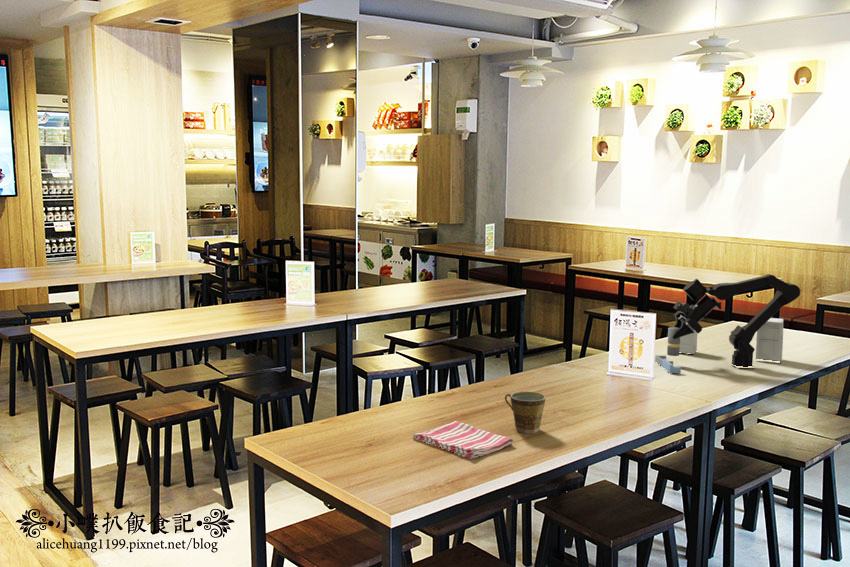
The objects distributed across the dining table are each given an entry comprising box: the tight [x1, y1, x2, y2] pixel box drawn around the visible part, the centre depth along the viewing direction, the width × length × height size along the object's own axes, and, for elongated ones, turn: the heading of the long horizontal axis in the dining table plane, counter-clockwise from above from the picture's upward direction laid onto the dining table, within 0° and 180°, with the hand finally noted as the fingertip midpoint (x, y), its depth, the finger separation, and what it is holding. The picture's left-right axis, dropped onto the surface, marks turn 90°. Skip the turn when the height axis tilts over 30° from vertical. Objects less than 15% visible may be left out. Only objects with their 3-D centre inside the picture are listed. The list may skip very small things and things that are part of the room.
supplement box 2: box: [755, 317, 784, 362], centre depth 305 cm, size 10×9×17 cm
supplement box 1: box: [679, 330, 698, 354], centre depth 319 cm, size 7×7×13 cm
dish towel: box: [412, 420, 514, 460], centre depth 209 cm, size 17×23×4 cm
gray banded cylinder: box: [666, 326, 680, 357], centre depth 296 cm, size 5×5×10 cm
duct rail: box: [654, 354, 682, 374], centre depth 294 cm, size 4×20×4 cm, turn 178°
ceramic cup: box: [504, 391, 546, 434], centre depth 220 cm, size 13×10×10 cm
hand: (671, 336), depth 296 cm, fingers closed on gray banded cylinder, 4 cm apart
